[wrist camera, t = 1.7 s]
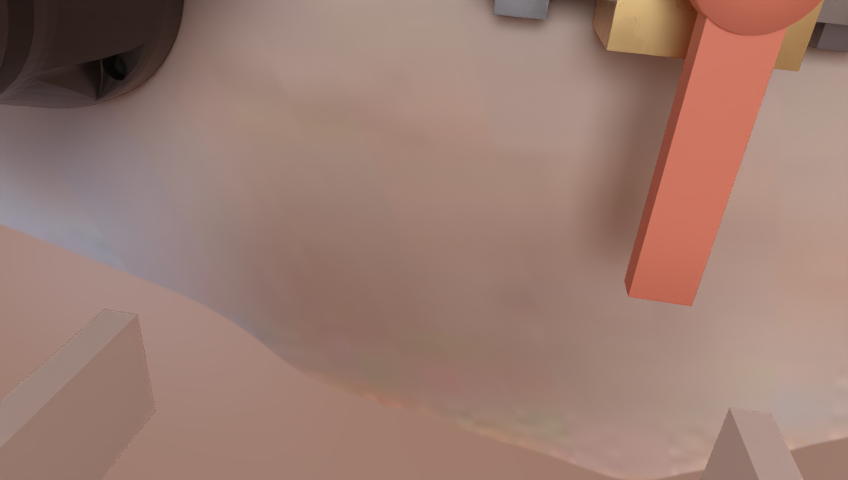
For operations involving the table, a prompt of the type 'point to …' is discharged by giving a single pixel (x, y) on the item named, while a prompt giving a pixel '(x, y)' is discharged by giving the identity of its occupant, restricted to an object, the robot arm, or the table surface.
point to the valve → (690, 27)
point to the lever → (706, 141)
